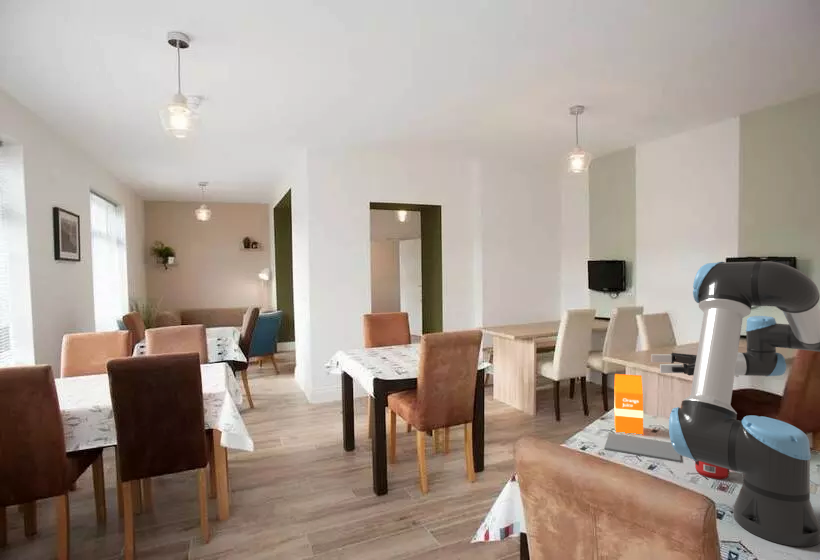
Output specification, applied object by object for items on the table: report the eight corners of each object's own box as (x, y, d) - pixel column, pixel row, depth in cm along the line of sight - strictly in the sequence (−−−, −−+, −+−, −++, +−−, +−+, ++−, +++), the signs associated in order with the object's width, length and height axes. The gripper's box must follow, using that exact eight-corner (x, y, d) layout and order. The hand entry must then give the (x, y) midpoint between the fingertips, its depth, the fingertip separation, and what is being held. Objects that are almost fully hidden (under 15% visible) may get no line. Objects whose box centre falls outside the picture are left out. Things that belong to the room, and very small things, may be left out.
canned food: (736, 479, 122) (736, 439, 122) (706, 480, 122) (706, 440, 122) (717, 467, 130) (717, 429, 129) (689, 467, 130) (689, 430, 130)
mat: (680, 462, 133) (680, 460, 133) (604, 449, 144) (604, 447, 144) (679, 445, 145) (679, 443, 145) (609, 434, 156) (609, 433, 156)
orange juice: (643, 435, 155) (643, 378, 154) (615, 432, 158) (614, 376, 157) (641, 427, 162) (640, 372, 161) (614, 425, 165) (613, 371, 165)
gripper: (742, 386, 137) (664, 384, 144) (713, 365, 161) (648, 364, 167) (741, 362, 137) (664, 361, 143) (713, 344, 161) (647, 344, 167)
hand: (655, 363), depth 155 cm, fingers open, 13 cm apart
